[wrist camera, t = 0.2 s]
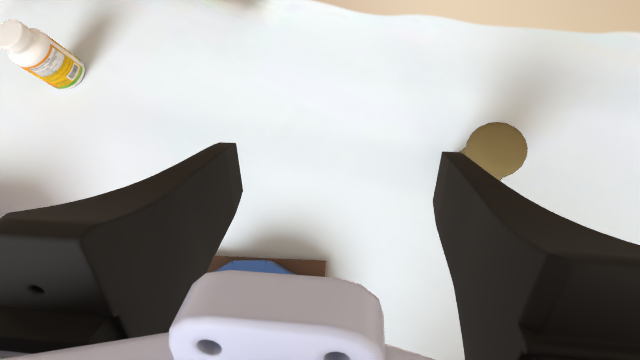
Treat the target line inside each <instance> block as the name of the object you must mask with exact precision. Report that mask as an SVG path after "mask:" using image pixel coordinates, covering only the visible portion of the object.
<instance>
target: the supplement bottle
mask: <svg viewBox="0 0 640 360" xmlns="http://www.w3.org/2000/svg"><path fill="white" fill-rule="evenodd" d="M0 48H2V49H3V50H5V51H7V52H8V55H9V57H10V59H11V60H12V61H13V62H14V63H15V64H17V65H18V66H20V67H22V68H23V69H25V70H27V71H28V72H30V73H32V74H33V75H35V76H37V77H38V78H40V79H42V80H43V81H45V82H47V83H48V84H50V85H52V86H53V87H55V88H57V89H60V90H68V89H71V88H73V87H75V86H76V85H78V84H79V82H80V81H81V80H82V78H83V76H84V73H85V68H84V65H83V63H82V62H81V61H80V60H79V59H78V58H77V57H75V56H74V55H73V54H71V53H70V52H69V51H67V50H66V49H65V48H63V47H62V46H61V45H59V44H58V43H57V42H55V41H54V40H53V39H51V38H50V37H49V36H47V35H46V34H45V33H43V32H42V31H40V30H37V29H33V28H28V27H27V26H25V25H24V24H22V23H21V22H19V21H17V20H8V21H5V22H3V23H2V24H1V25H0Z"/></svg>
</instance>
